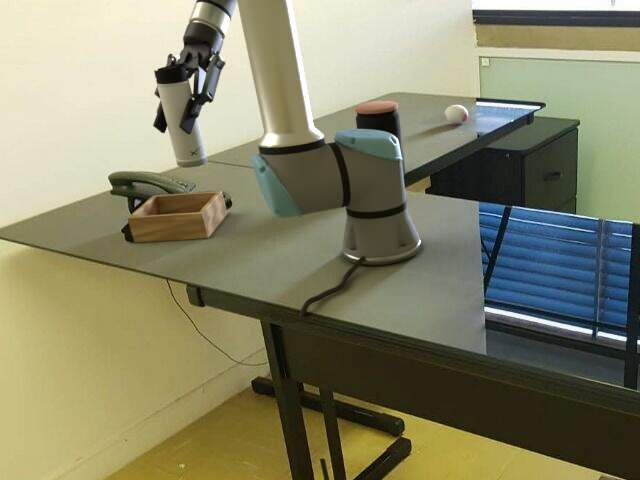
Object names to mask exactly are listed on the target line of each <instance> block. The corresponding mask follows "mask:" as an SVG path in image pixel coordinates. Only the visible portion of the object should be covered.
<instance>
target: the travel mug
mask: <svg viewBox="0 0 640 480" xmlns="http://www.w3.org/2000/svg"><path fill="white" fill-rule="evenodd" d="M186 66H187V63H186V62H182V63H181V64H175V65H170V66H166V65H165V66H163V67H160V68H157V70H155V69H154V70H153V73H154V78H155V81H156V87H157V86H158V91H159V95H160V98H159V100H161V103H162V107H163V110H164V114H165V118H166V122H167V129H168V130H167V131H168V133H169V139H170V142H171V146H172V149H173V155H174V158H175V162H176V165H177V166H178V167H179V168H182V169H183V168H187V169H188V168H195V167H197V168H198V167H201V166H205V165H206V164H207V163H208V155H207V151H206V148H205V142H204V139H203V135H202V134H203V133H202V130H201V125H200V121H199V117H198V118H196V120H195V123H194V126H193V129H192V132H191V134H187V133H186V132H185V131H183V130H182V129H181V128H180V127H179V125H180V122H181V119H182V116H183V114H184V111H185V108H186V105H187V102H188V100H189V98H192V99H193V100H194V98H193V97H192V96H193V95H192V94H193V90H192V88H191V83H190V80H189V79H188V76H187V71H186ZM190 94H191V95H192V96H191V95H190Z"/></svg>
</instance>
